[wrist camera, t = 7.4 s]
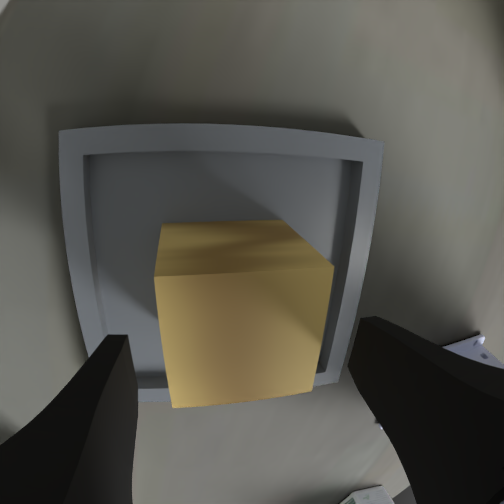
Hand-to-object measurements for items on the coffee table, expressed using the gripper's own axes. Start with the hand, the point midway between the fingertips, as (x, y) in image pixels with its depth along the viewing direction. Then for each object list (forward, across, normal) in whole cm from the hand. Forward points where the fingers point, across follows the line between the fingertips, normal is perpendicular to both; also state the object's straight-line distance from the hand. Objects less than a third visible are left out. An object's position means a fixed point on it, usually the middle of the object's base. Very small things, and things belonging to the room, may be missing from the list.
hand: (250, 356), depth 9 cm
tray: (+6, 0, 0) cm, 6 cm away
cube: (+5, 0, 0) cm, 5 cm away
